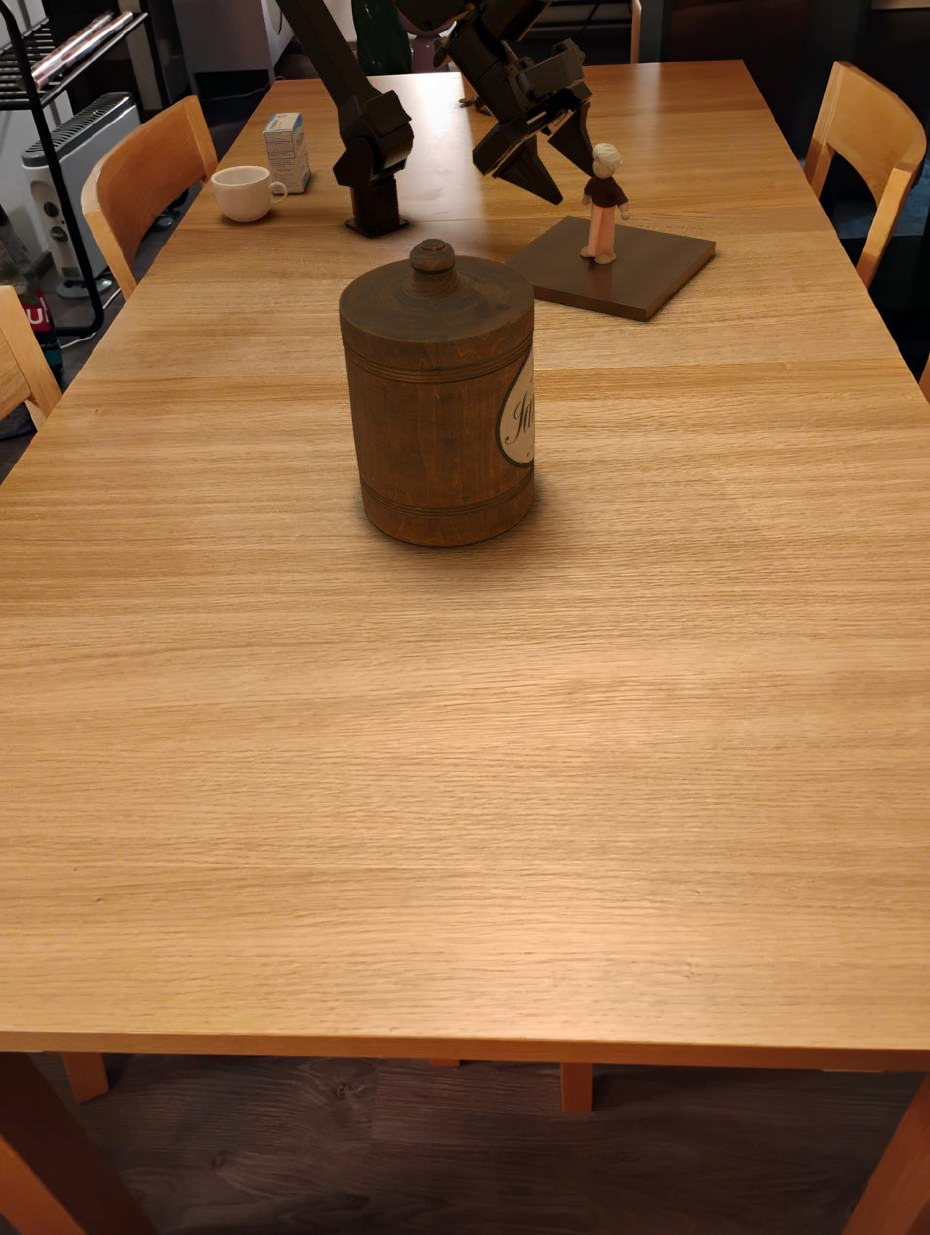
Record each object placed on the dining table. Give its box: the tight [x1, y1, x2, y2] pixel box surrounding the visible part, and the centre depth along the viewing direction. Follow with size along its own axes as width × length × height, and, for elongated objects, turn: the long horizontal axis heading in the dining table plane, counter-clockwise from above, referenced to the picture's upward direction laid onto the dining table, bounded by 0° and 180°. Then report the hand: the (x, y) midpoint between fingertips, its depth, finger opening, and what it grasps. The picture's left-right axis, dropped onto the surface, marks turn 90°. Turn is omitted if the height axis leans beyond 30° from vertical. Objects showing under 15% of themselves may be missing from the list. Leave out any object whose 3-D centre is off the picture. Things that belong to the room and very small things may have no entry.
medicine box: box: [262, 112, 312, 195], centre depth 142 cm, size 8×4×9 cm, turn 179°
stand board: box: [502, 215, 717, 323], centre depth 117 cm, size 20×20×2 cm
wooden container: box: [338, 238, 536, 547], centre depth 78 cm, size 15×15×22 cm
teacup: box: [210, 165, 289, 223], centre depth 135 cm, size 10×8×5 cm
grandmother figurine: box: [580, 142, 631, 264], centre depth 112 cm, size 8×4×13 cm, turn 47°
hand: (579, 189), depth 113 cm, fingers open, 9 cm apart
